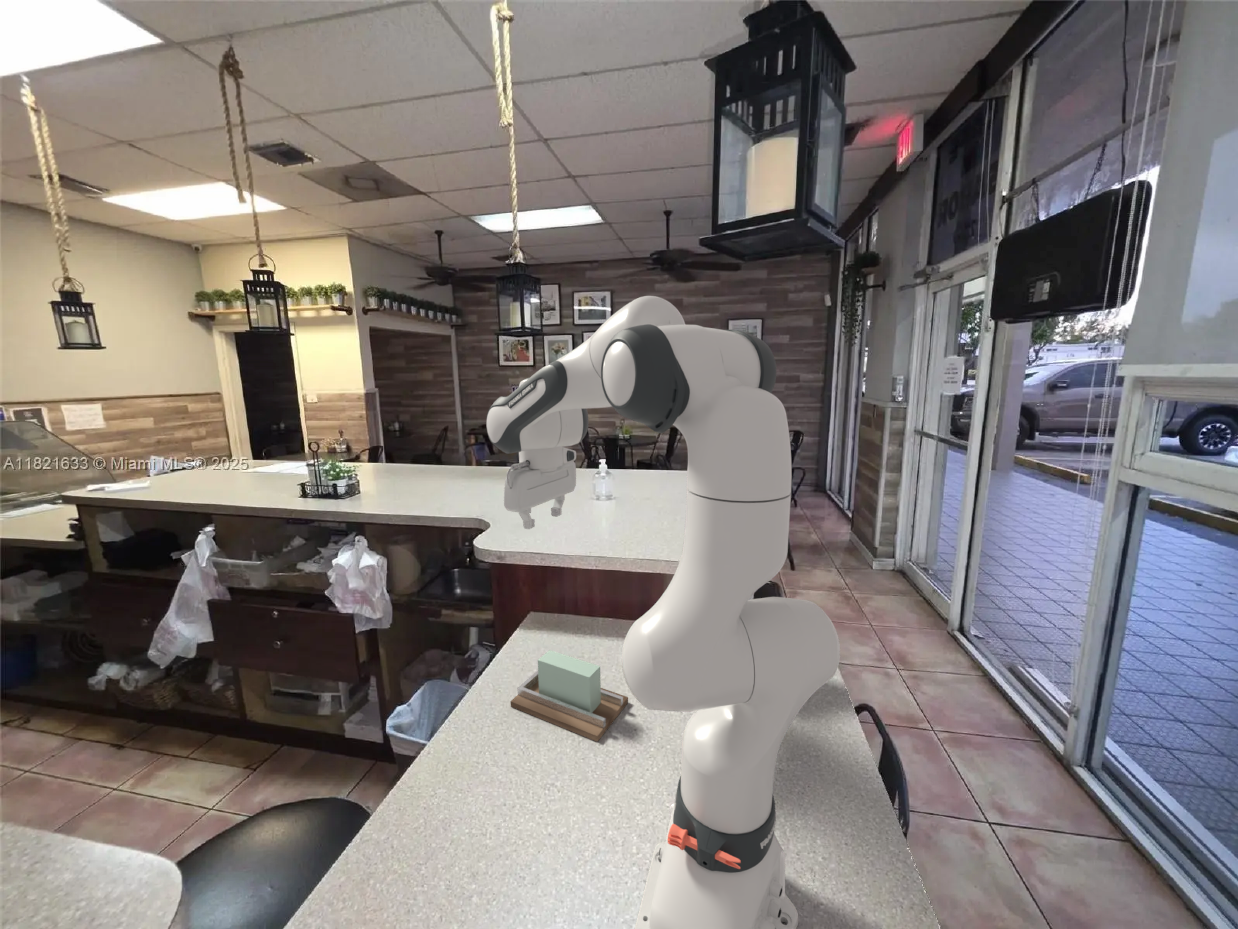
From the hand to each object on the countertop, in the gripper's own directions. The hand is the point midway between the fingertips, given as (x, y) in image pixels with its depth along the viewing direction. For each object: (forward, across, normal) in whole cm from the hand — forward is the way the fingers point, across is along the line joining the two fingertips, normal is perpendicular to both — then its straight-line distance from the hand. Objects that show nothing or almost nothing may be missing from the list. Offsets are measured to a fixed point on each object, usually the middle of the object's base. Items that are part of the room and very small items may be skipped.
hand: (543, 521), depth 104 cm
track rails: (+33, -8, -11) cm, 36 cm away
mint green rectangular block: (+33, -8, -11) cm, 36 cm away
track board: (+34, -8, -11) cm, 37 cm away
